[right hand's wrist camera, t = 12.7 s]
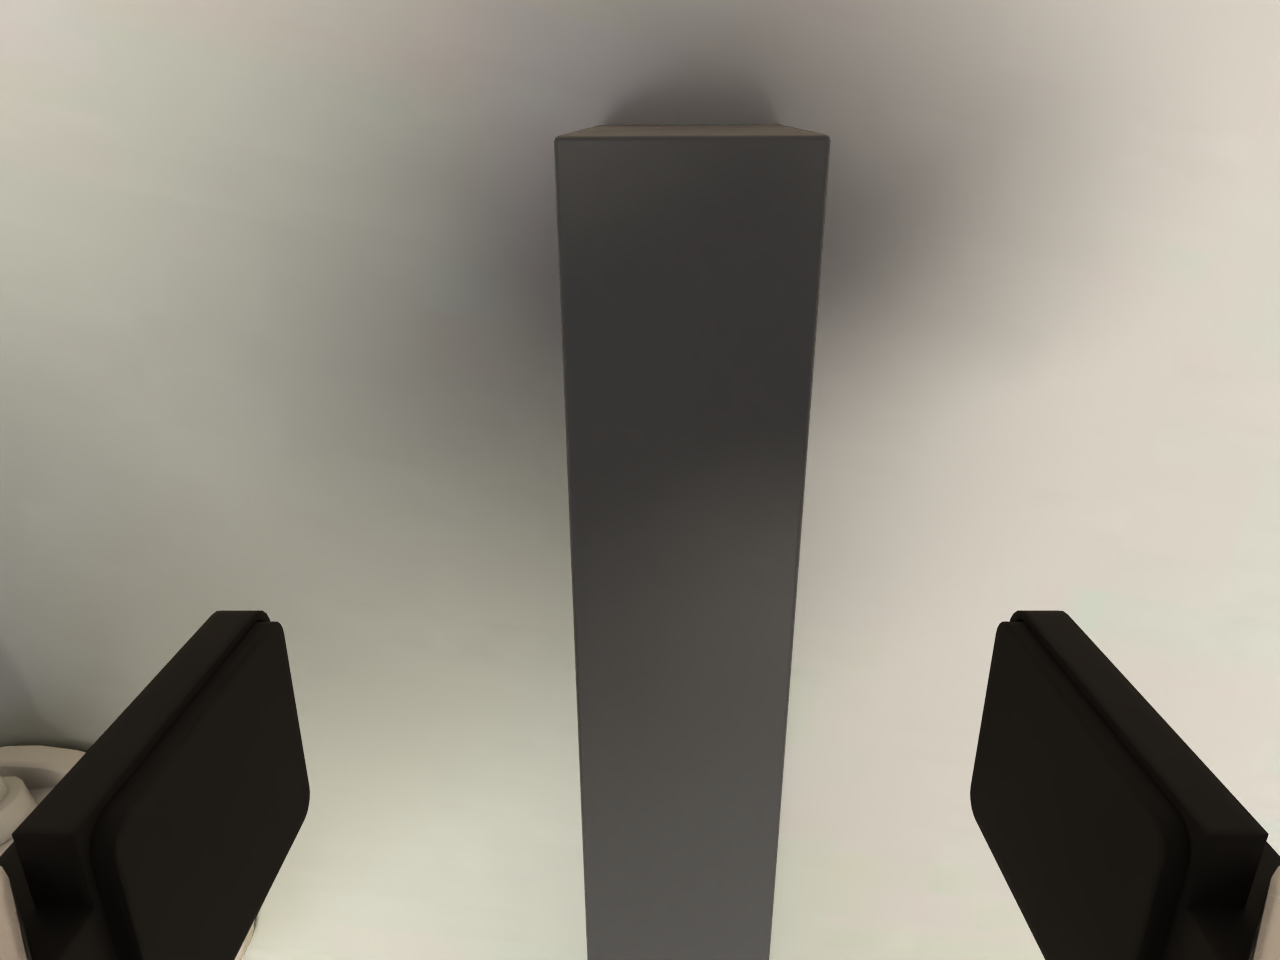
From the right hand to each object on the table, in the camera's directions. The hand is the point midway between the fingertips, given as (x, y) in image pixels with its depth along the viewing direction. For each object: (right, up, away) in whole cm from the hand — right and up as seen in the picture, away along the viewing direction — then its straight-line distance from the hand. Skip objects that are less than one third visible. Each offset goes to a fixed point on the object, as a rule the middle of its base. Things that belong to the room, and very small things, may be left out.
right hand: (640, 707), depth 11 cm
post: (+1, -23, +24) cm, 33 cm away
